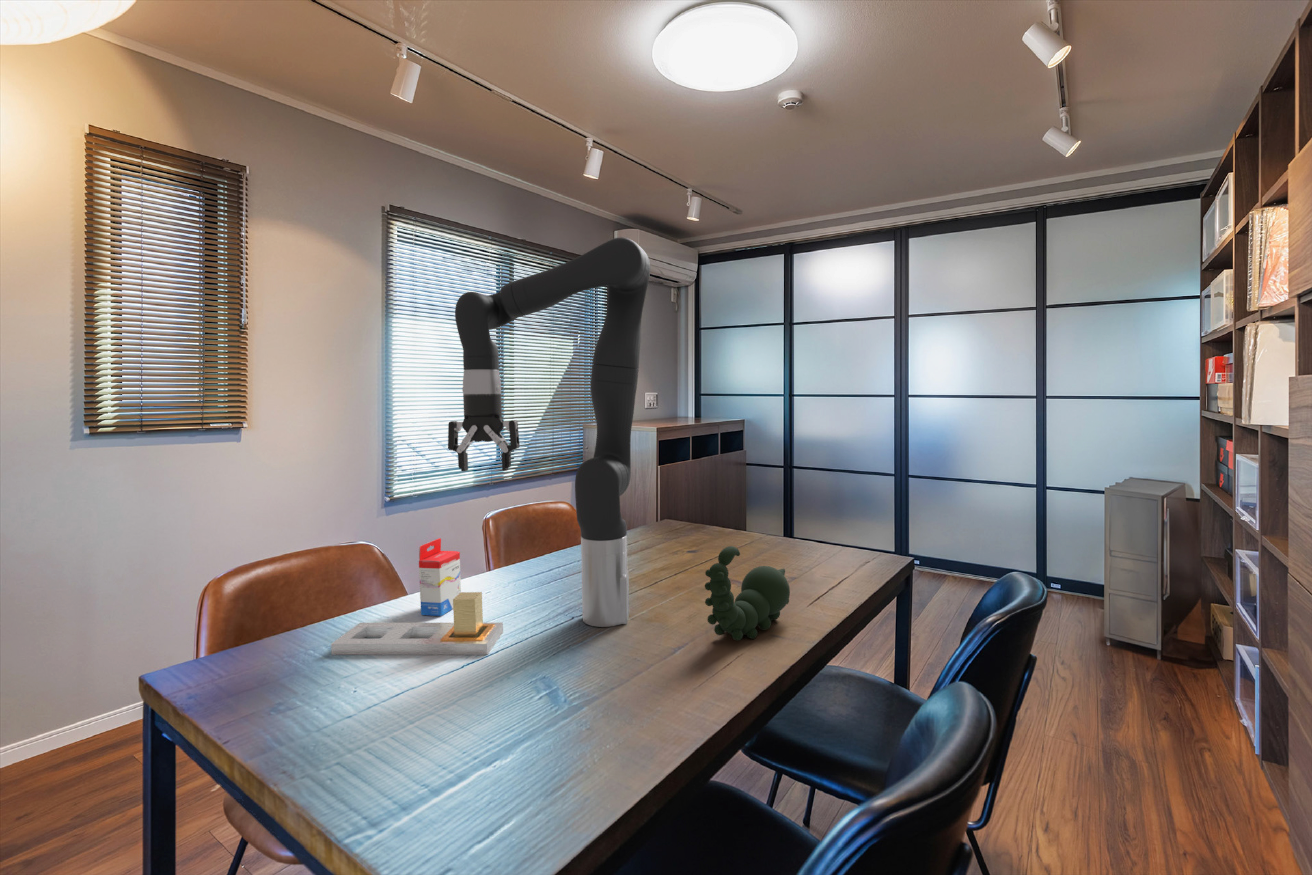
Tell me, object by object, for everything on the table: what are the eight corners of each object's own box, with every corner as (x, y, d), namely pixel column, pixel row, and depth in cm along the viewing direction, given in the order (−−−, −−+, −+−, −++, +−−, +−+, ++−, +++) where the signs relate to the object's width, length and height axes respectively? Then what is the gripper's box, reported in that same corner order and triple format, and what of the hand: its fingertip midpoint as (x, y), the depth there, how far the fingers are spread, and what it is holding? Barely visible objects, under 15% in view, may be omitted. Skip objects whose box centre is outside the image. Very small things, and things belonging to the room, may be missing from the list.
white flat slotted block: (503, 632, 118) (502, 621, 118) (487, 654, 108) (486, 642, 108) (360, 632, 119) (359, 621, 119) (331, 654, 109) (331, 642, 109)
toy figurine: (739, 664, 107) (806, 612, 125) (733, 560, 104) (803, 522, 123) (696, 650, 113) (766, 602, 131) (689, 551, 110) (762, 516, 129)
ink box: (441, 617, 127) (438, 547, 126) (420, 615, 128) (417, 546, 127) (462, 603, 135) (459, 537, 134) (442, 602, 136) (439, 537, 135)
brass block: (483, 638, 115) (481, 592, 115) (476, 647, 111) (474, 599, 111) (462, 639, 115) (460, 592, 115) (454, 647, 111) (453, 599, 111)
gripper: (521, 392, 130) (523, 468, 131) (454, 392, 130) (457, 468, 131) (511, 391, 122) (514, 472, 123) (441, 392, 123) (444, 473, 124)
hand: (484, 470), depth 127 cm, fingers open, 8 cm apart
